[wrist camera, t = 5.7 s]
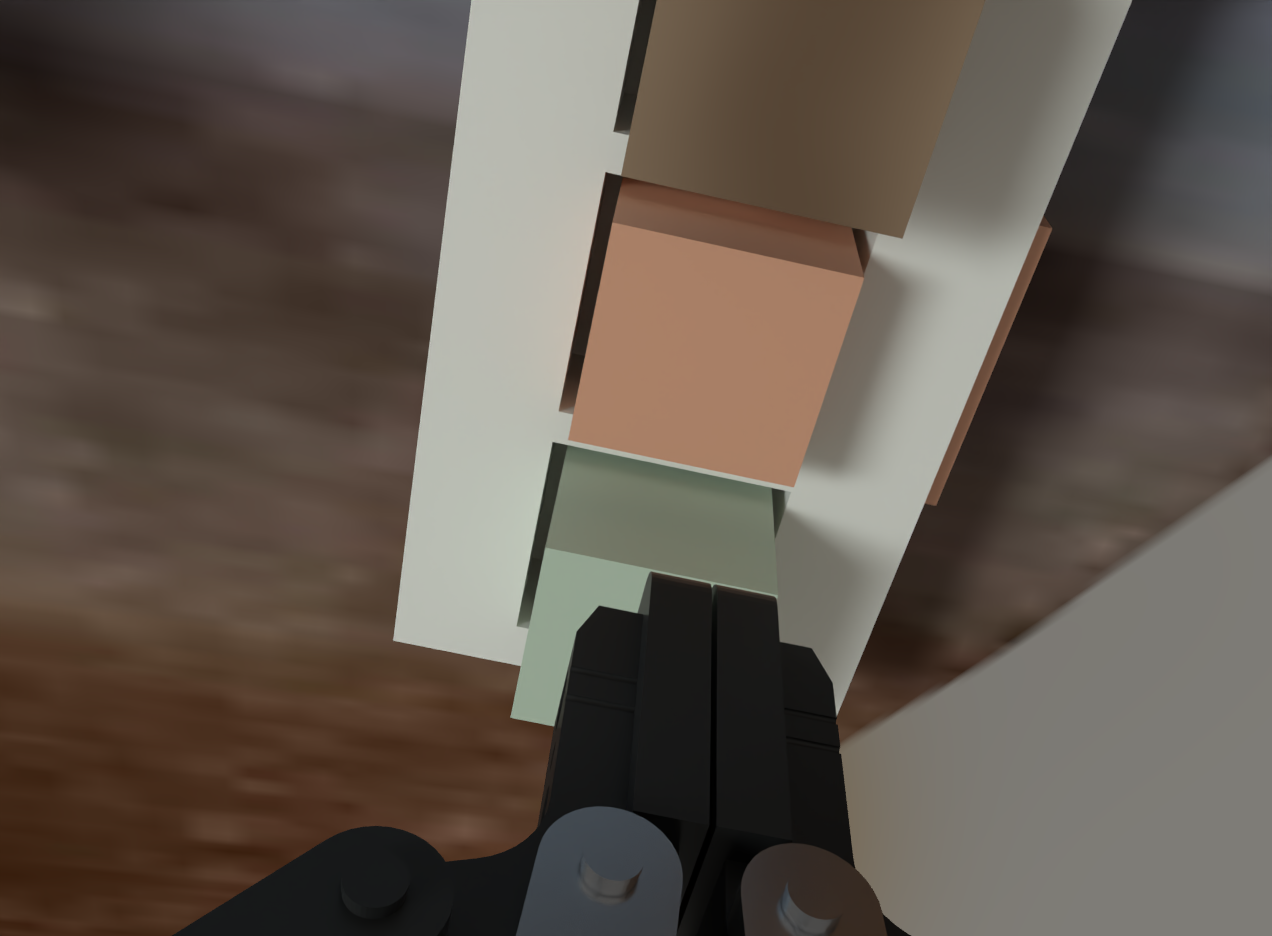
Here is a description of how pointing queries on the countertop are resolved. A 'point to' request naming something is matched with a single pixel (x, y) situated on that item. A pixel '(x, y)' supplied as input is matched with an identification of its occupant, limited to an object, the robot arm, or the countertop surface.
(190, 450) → the countertop surface
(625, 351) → the terracotta key
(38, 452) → the countertop surface
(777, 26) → the walnut key
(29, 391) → the countertop surface
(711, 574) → the sage key
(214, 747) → the countertop surface
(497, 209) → the key housing
